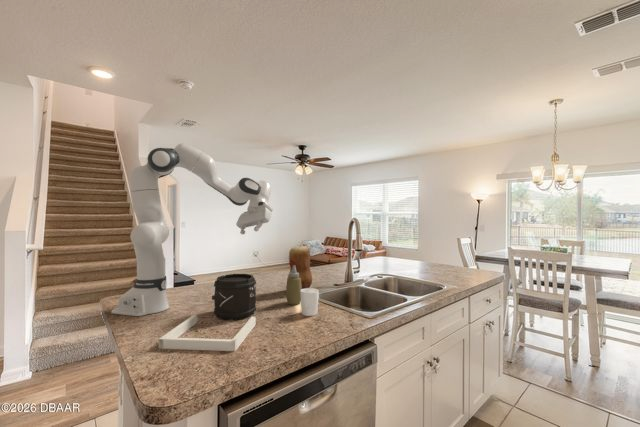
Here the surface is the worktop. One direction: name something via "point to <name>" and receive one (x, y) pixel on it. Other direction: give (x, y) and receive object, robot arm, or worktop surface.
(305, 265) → the butternut squash
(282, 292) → the worktop surface
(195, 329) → the worktop surface
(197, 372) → the worktop surface
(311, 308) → the white cup
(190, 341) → the bay
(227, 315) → the black short wide cylinder
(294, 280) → the squeeze bottle
